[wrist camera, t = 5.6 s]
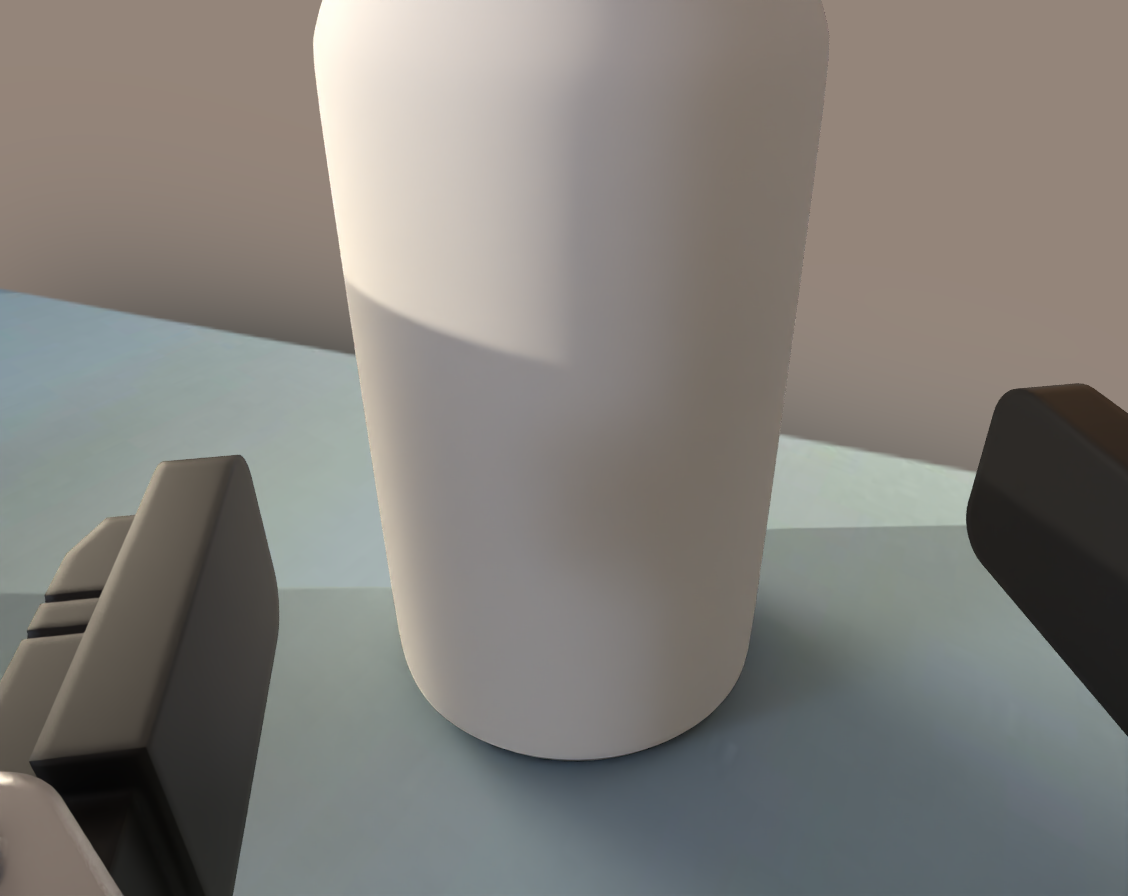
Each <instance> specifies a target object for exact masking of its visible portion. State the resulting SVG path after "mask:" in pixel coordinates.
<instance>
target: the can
mask: <svg viewBox="0 0 1128 896" xmlns="http://www.w3.org/2000/svg"><path fill="white" fill-rule="evenodd" d="M313 47H314V65H315V66H314V67H315V75H316V83H317V92H318V100H319V107H320V116H321V123H322V130H323V137H324V144H325V151H326V158H327V165H328V172H329V179H330V185H331V192H332V199H333V206H334V213H335V219H336V226H337V233H338V239H339V246H340V252H341V260H342V266H343V273H344V280H345V286H346V293H347V300H348V307H349V313H350V320H351V326H352V333H353V340H354V345H355V352H356V359H357V366H358V373H359V379H360V386H361V392H362V399H363V406H364V412H365V419H366V425H367V432H368V438H369V445H370V451H371V458H372V464H373V471H374V477H375V484H376V490H377V497H378V503H379V510H380V516H381V522H382V529H383V535H384V542H385V548H386V554H387V561H388V567H389V573H390V580H391V586H392V592H393V598H394V604H395V610H396V616H397V622H398V627H399V633H400V638H401V643H402V648H403V651H404V655H405V658H406V662H407V664H408V667H409V669H410V672H411V674H412V676H413V678H414V680H415V682H416V684H417V686H418V687H419V689H420V690H421V692H422V694H423V695H424V696H425V698H426V699H427V700H428V702H429V703H430V704H431V705H432V706H433V707H434V708H435V709H436V710H437V711H438V712H439V713H440V714H441V715H442V716H443V717H445V718H446V719H447V720H448V721H450V722H451V723H452V724H454V725H455V726H457V727H458V728H460V729H461V730H463V731H465V732H467V733H468V734H470V735H472V736H474V737H476V738H478V739H480V740H482V741H485V742H487V743H489V744H492V745H494V746H497V747H500V748H503V749H506V750H510V751H513V752H516V753H520V754H523V755H527V756H532V757H537V758H543V759H550V760H561V761H591V760H601V759H609V758H614V757H619V756H624V755H628V754H632V753H635V752H638V751H642V750H644V749H647V748H650V747H653V746H656V745H658V744H661V743H663V742H666V741H668V740H670V739H672V738H674V737H676V736H678V735H680V734H682V733H684V732H685V731H687V730H689V729H690V728H692V727H693V726H695V725H696V724H698V723H699V722H701V721H702V720H703V719H705V718H706V717H707V716H708V715H709V714H711V713H712V712H713V711H714V710H715V709H716V708H717V707H718V706H719V705H720V704H721V703H722V701H723V700H724V699H725V698H726V697H727V695H728V694H729V693H730V691H731V690H732V688H733V687H734V685H735V683H736V682H737V680H738V678H739V676H740V674H741V671H742V669H743V666H744V663H745V659H746V656H747V652H748V647H749V641H750V636H751V630H752V624H753V618H754V611H755V604H756V598H757V591H758V584H759V577H760V570H761V563H762V556H763V549H764V542H765V535H766V528H767V521H768V514H769V507H770V500H771V492H772V485H773V478H774V471H775V464H776V456H777V449H778V442H779V435H780V428H781V420H782V413H783V406H784V398H785V391H786V383H787V376H788V369H789V362H790V361H789V360H790V354H791V347H792V340H793V333H794V325H795V318H796V310H797V303H798V295H799V288H800V281H801V273H802V266H803V259H804V251H805V243H806V236H807V229H808V221H809V213H810V206H811V198H812V191H813V184H814V183H813V182H814V176H815V168H816V160H817V152H818V144H819V136H820V129H821V121H822V112H823V105H824V96H825V86H826V77H827V67H828V55H829V31H828V25H827V20H826V16H825V12H824V8H823V5H822V1H821V0H322V4H321V7H320V11H319V15H318V19H317V23H316V27H315V33H314V39H313Z"/></svg>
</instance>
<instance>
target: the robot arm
mask: <svg viewBox="0 0 1128 896" xmlns="http://www.w3.org/2000/svg"><path fill="white" fill-rule="evenodd" d="M966 524H967V532H968V537H969V540H970V543H971V546H972V549H973V551H974V553H975V555H976V556H977V558H978V559H979V561H980V562H981V563H982V565H983V566H984V567H985V568H986V569H987V571H988V572H989V573H990V574H991V575H992V576H993V578H994V579H995V580H996V581H997V582H998V584H999V585H1000V586H1001V587H1002V588H1003V589H1004V591H1005V592H1006V593H1007V594H1008V595H1009V597H1010V598H1011V599H1012V600H1013V601H1014V603H1015V604H1016V605H1017V606H1018V607H1019V608H1020V610H1021V611H1022V612H1023V613H1024V614H1025V616H1026V617H1027V618H1028V619H1029V620H1030V621H1031V623H1032V624H1033V625H1034V626H1035V627H1036V629H1037V630H1038V631H1039V632H1040V633H1041V634H1042V636H1043V637H1044V638H1045V639H1046V640H1047V642H1048V643H1049V644H1050V645H1051V646H1052V647H1053V649H1054V650H1055V651H1056V652H1057V653H1058V655H1059V656H1060V657H1061V658H1062V659H1063V660H1064V662H1065V663H1066V664H1067V665H1068V666H1069V668H1070V669H1071V670H1072V671H1073V672H1074V673H1075V675H1076V676H1077V677H1078V678H1079V679H1080V681H1081V682H1082V683H1083V684H1084V685H1085V686H1086V688H1087V689H1088V690H1089V691H1090V692H1091V694H1092V695H1093V696H1094V697H1095V698H1096V699H1097V701H1098V702H1099V703H1100V704H1101V705H1102V707H1103V708H1104V709H1105V710H1106V711H1107V713H1108V714H1109V715H1110V716H1111V717H1112V718H1113V720H1114V721H1115V722H1116V723H1117V724H1118V726H1119V727H1120V728H1121V729H1122V730H1123V731H1124V733H1125V734H1126V735H1127V736H1128V413H1127V412H1125V411H1124V410H1122V409H1121V408H1120V407H1118V406H1117V405H1116V404H1114V403H1113V402H1112V401H1110V400H1109V399H1107V398H1106V397H1105V396H1103V395H1102V394H1101V393H1099V392H1098V391H1097V390H1095V389H1094V388H1092V387H1090V386H1088V385H1085V384H1079V383H1078V384H1065V385H1053V386H1042V387H1031V388H1019V389H1013V390H1010V391H1008V392H1007V393H1005V394H1004V395H1003V396H1002V397H1001V399H1000V400H999V402H998V403H997V405H996V407H995V410H994V413H993V417H992V420H991V424H990V427H989V431H988V434H987V438H986V441H985V445H984V449H983V452H982V456H981V459H980V463H979V466H978V470H977V473H976V477H975V480H974V484H973V487H972V491H971V494H970V498H969V501H968V506H967V513H966ZM45 599H46V601H45V603H44V604H40V606H39V608H38V610H37V612H36V614H35V615H34V617H33V619H32V621H31V623H30V625H29V627H28V629H27V633H28V637H27V639H24V640H22V641H21V643H20V645H19V647H18V649H17V651H16V653H15V654H14V656H13V658H12V660H11V662H10V664H9V666H8V668H7V670H6V672H5V674H4V676H3V678H2V680H1V682H0V896H233V891H234V885H235V879H236V874H237V868H238V862H239V856H240V851H241V845H242V839H243V833H244V828H245V822H246V816H247V811H248V805H249V799H250V793H251V788H252V782H253V776H254V770H255V765H256V759H257V753H258V747H259V742H260V736H261V730H262V725H263V719H264V713H265V707H266V702H267V696H268V690H269V684H270V679H271V673H272V667H273V662H274V656H275V650H276V644H277V638H278V630H279V599H278V589H277V582H276V576H275V572H274V567H273V563H272V559H271V555H270V551H269V547H268V543H267V539H266V535H265V530H264V526H263V522H262V518H261V514H260V510H259V506H258V502H257V498H256V494H255V489H254V485H253V481H252V477H251V474H250V470H249V467H248V465H247V463H246V461H245V459H244V458H243V457H242V456H241V455H231V456H220V457H209V458H197V459H186V460H174V461H163V462H161V463H160V464H159V465H158V466H157V467H156V469H155V471H154V474H153V476H152V478H151V481H150V483H149V485H148V487H147V490H146V492H145V494H144V497H143V499H142V501H141V504H140V506H139V508H138V511H137V513H136V515H130V516H120V517H109V518H106V519H105V520H104V521H102V522H101V523H100V524H99V525H98V526H97V527H96V528H95V529H94V530H92V531H91V532H90V533H89V534H88V535H87V536H86V537H85V538H84V539H82V540H81V541H80V542H79V543H78V544H77V545H76V546H75V547H74V548H72V549H71V550H70V551H69V552H68V553H67V554H66V555H65V557H64V559H63V561H62V563H61V565H60V567H59V569H58V571H57V573H56V575H55V577H54V578H53V580H52V582H51V584H50V586H49V588H48V590H47V592H46V594H45Z"/></svg>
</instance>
